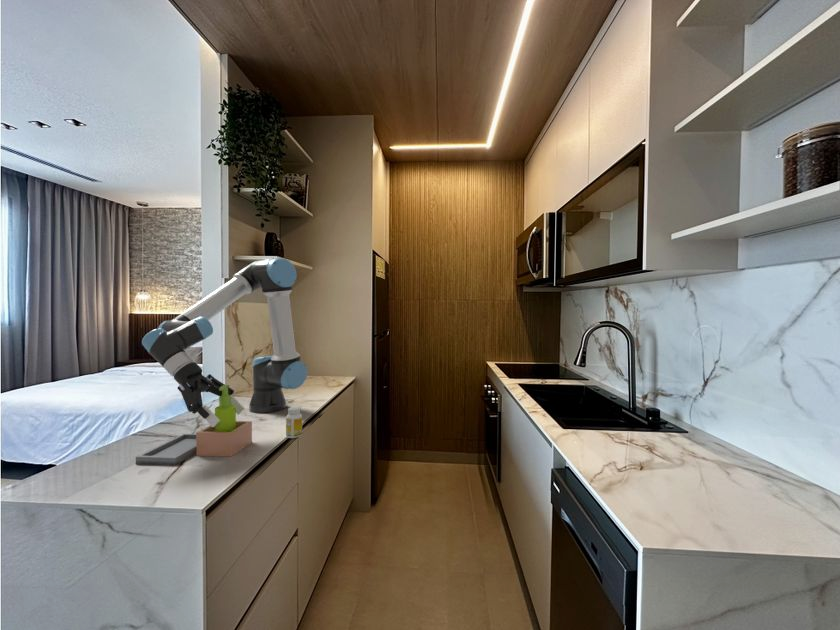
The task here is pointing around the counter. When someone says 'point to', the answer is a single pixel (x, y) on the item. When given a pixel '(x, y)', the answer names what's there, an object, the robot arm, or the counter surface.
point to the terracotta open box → (223, 440)
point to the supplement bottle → (294, 423)
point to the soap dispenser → (225, 412)
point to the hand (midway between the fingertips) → (229, 417)
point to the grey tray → (170, 451)
